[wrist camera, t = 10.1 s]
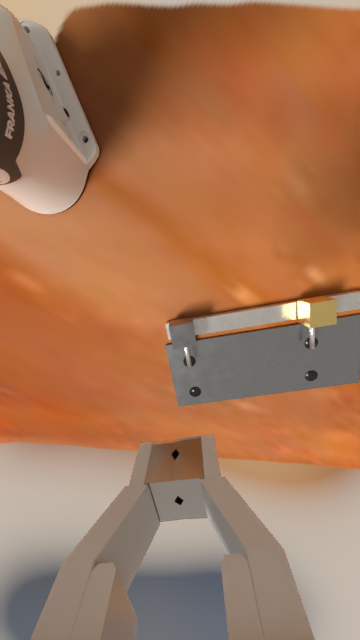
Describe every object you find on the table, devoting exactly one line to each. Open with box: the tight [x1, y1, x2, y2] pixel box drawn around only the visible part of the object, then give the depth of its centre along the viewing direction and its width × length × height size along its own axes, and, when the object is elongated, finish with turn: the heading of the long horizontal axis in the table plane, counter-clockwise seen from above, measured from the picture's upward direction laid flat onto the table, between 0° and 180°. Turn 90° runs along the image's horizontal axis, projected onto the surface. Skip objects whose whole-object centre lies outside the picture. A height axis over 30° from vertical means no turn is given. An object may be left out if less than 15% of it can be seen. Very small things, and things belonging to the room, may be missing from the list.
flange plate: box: [166, 314, 360, 406], centre depth 38 cm, size 14×36×1 cm, turn 100°
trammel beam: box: [165, 290, 360, 367], centre depth 34 cm, size 9×34×5 cm, turn 100°
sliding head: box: [297, 296, 337, 349], centre depth 33 cm, size 9×4×4 cm, turn 10°
